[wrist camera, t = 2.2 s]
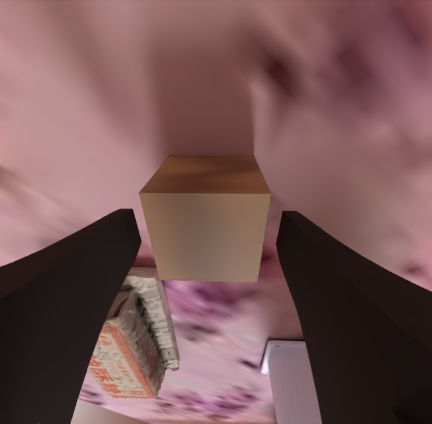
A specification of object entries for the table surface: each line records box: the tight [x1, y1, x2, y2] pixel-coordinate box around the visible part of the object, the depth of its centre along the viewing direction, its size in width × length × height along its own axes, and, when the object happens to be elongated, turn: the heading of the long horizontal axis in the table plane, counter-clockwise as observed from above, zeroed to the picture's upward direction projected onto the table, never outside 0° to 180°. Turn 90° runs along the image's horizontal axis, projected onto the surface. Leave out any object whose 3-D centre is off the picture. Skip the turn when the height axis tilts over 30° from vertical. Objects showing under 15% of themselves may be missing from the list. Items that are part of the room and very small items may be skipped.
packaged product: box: [87, 267, 179, 399], centre depth 20 cm, size 18×5×10 cm
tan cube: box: [139, 156, 271, 282], centre depth 11 cm, size 5×5×5 cm
